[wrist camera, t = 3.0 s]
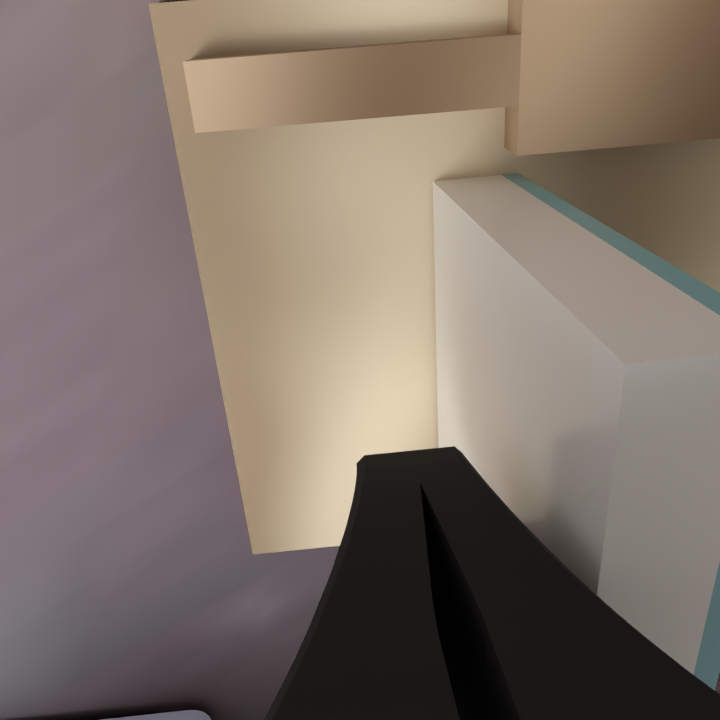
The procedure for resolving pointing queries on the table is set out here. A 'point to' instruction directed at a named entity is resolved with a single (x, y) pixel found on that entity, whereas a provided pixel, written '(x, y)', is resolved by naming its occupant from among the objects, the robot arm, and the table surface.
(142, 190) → the table surface
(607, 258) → the tile
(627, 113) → the spatula
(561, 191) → the board
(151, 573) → the table surface
